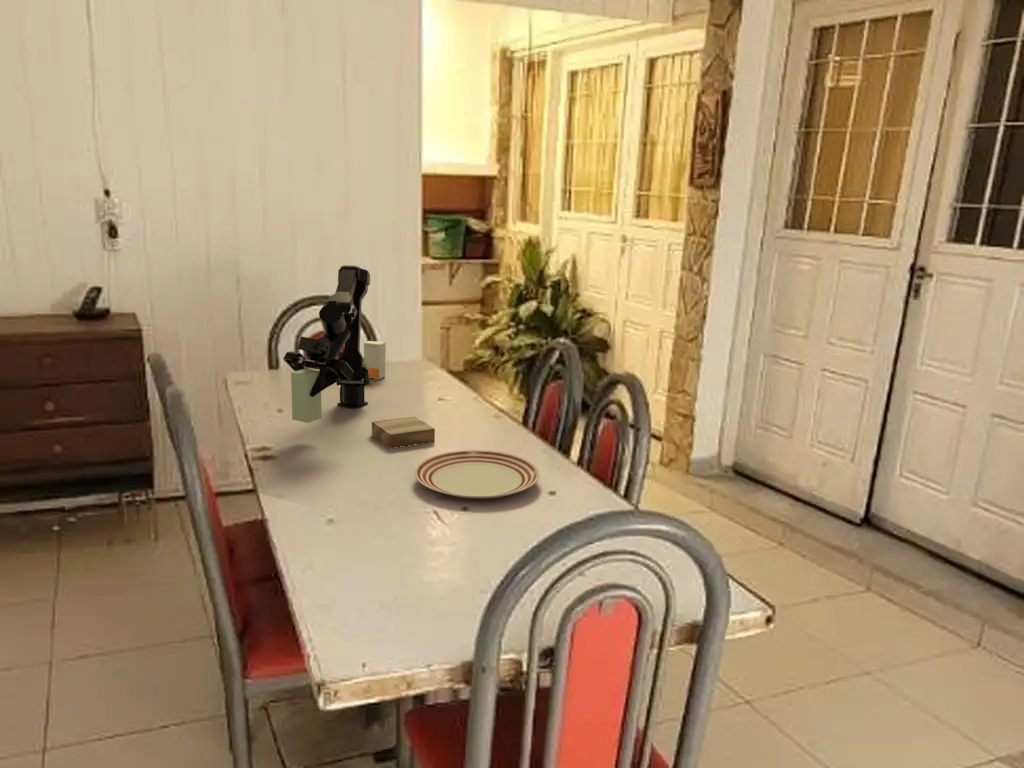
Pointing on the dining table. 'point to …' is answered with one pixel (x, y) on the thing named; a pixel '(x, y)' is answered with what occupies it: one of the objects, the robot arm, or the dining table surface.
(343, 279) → the robot arm
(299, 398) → the sage block
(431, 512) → the dining table surface
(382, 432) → the walnut block
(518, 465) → the dinner plate
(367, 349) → the skincare box
